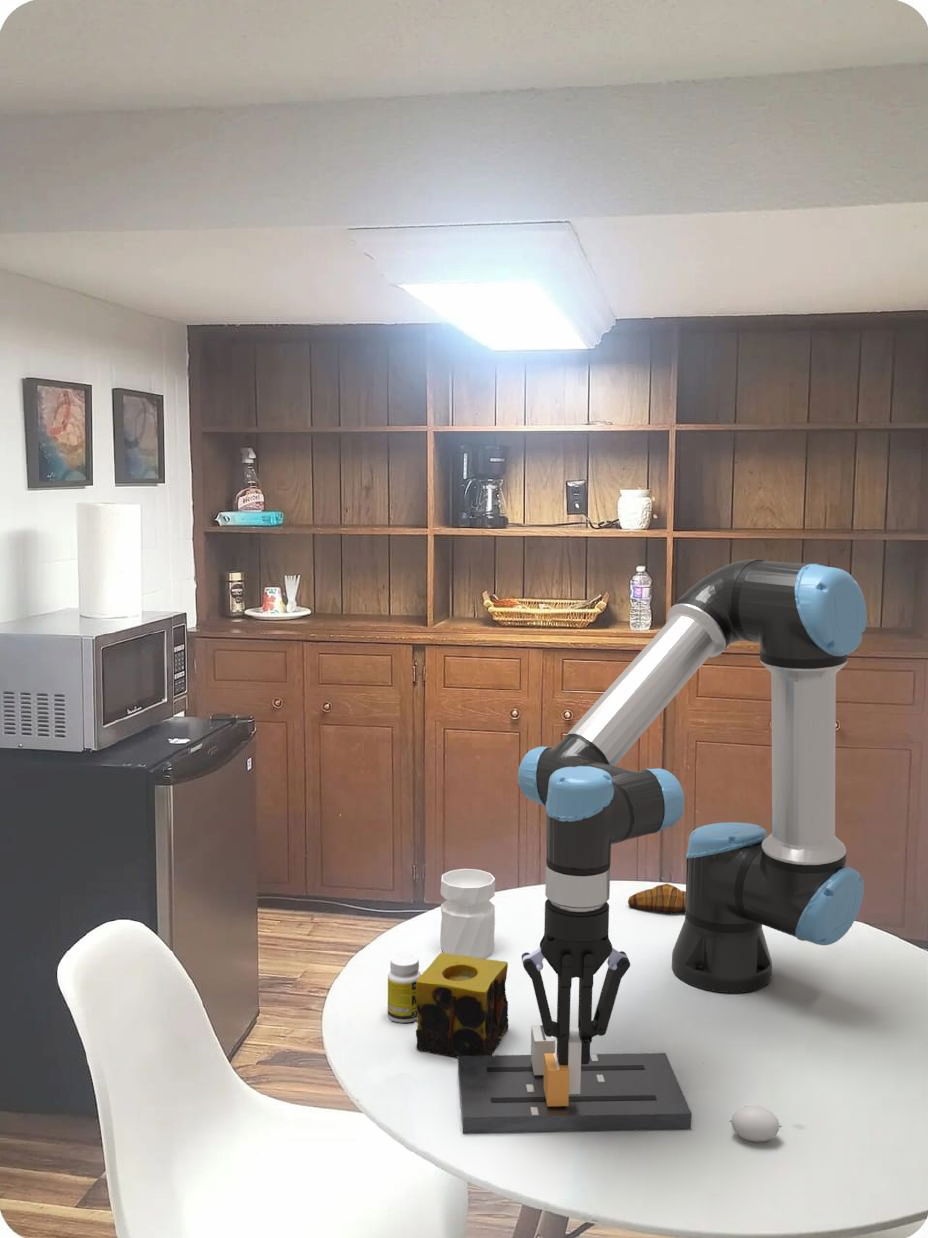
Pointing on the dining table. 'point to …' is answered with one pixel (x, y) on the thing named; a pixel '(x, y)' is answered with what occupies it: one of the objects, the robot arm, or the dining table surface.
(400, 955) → the supplement bottle
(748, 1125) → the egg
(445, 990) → the candle
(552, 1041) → the fader
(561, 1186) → the dining table surface
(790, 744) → the robot arm
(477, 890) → the vase
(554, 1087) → the fader
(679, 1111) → the console
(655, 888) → the croissant
